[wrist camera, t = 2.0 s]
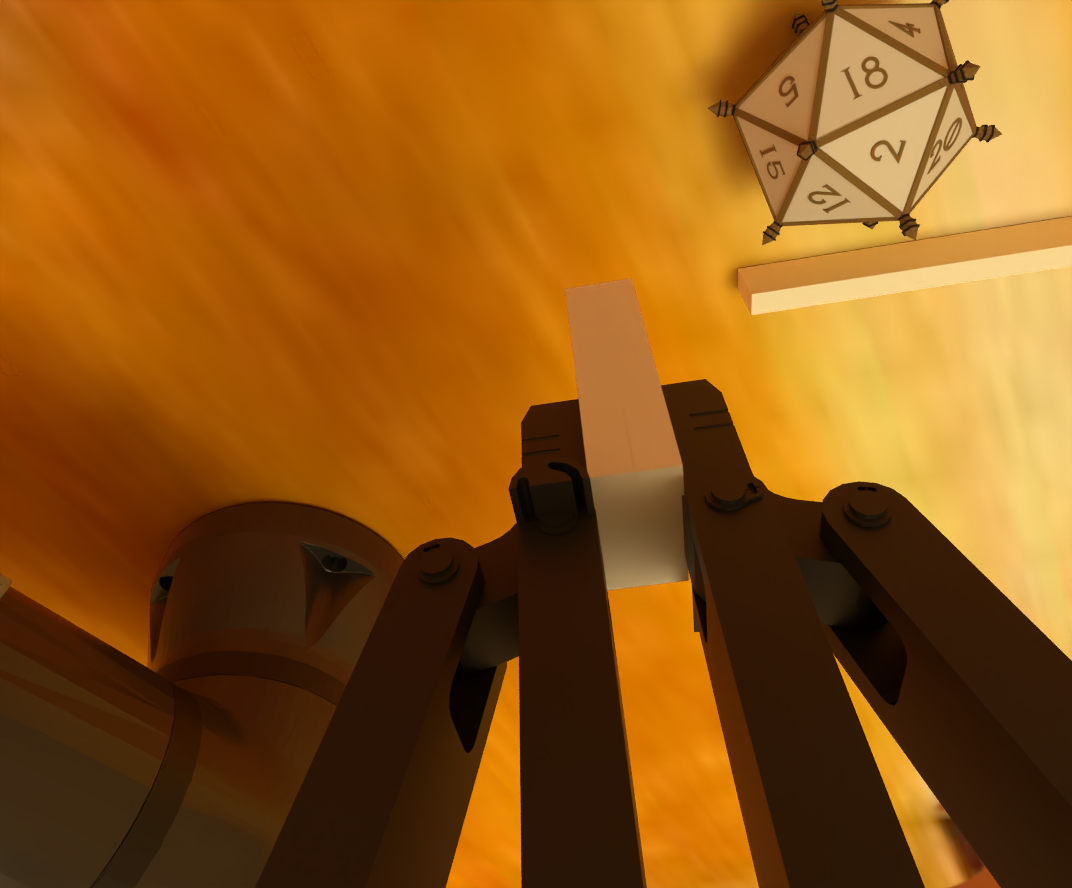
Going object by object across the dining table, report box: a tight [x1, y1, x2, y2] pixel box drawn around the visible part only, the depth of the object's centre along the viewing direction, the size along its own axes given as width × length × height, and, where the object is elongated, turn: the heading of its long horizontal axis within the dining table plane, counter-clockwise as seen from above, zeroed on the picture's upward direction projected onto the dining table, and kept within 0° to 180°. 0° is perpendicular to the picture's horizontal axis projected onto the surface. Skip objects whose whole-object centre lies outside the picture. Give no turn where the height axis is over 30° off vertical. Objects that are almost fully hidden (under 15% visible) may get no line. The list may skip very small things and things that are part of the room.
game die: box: [708, 0, 1002, 245], centre depth 26 cm, size 9×8×10 cm
